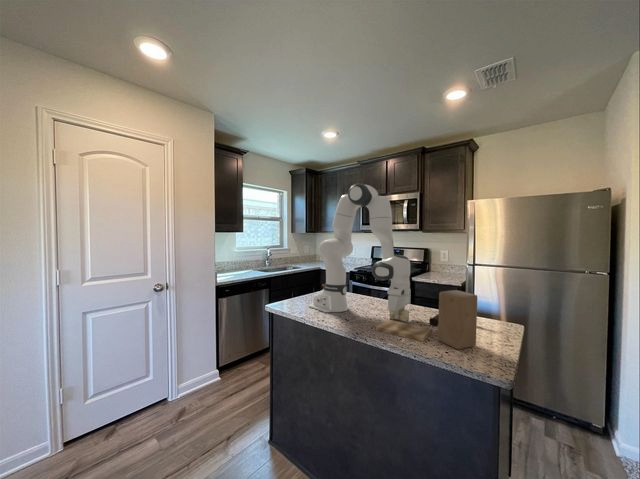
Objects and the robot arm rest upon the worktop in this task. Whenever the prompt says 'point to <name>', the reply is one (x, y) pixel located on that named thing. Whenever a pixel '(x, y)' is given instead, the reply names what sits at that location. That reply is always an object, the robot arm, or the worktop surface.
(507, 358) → the worktop surface
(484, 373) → the worktop surface
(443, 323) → the wooden block
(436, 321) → the hand tool
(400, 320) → the sanding block
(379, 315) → the worktop surface
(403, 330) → the board
